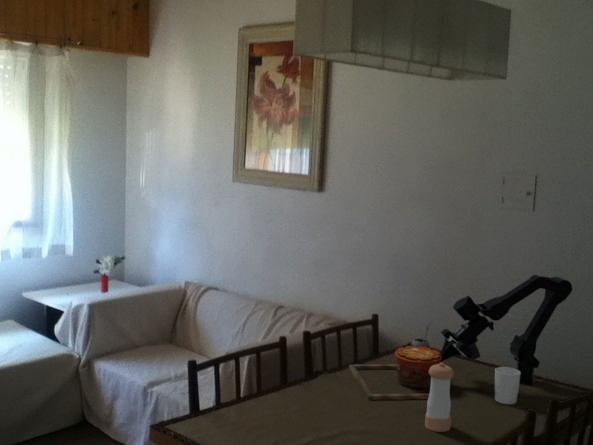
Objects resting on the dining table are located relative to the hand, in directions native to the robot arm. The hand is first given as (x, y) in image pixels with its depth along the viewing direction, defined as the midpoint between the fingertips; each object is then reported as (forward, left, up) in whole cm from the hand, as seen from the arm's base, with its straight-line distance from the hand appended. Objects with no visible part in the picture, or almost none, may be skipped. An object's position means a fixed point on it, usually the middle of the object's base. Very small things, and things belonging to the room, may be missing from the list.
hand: (439, 360), depth 240 cm
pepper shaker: (+36, +14, -8) cm, 39 cm away
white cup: (+2, +24, -8) cm, 25 cm away
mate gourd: (-17, -14, -8) cm, 24 cm away
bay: (+9, -11, -8) cm, 16 cm away
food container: (+5, -6, -8) cm, 11 cm away
